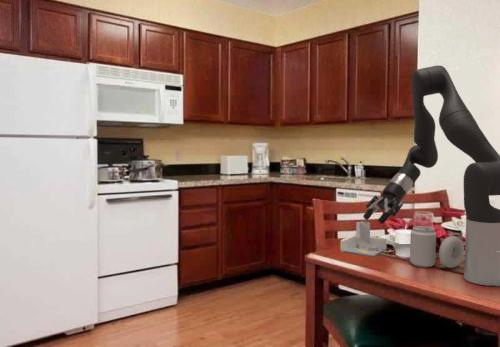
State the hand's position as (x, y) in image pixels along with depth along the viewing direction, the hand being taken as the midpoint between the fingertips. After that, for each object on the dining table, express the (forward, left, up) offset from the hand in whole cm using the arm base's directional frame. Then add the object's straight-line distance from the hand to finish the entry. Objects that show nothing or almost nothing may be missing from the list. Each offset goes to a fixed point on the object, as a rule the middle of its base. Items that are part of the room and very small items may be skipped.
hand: (372, 220), depth 154 cm
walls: (+1, +5, -10) cm, 12 cm away
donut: (-29, +8, -11) cm, 32 cm away
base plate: (+1, +5, -10) cm, 12 cm away
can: (-21, +10, -11) cm, 25 cm away
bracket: (0, +5, -10) cm, 11 cm away
